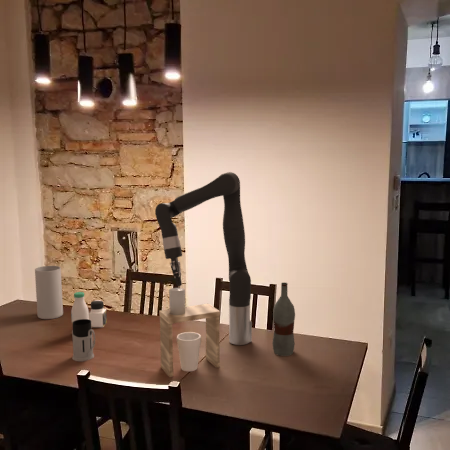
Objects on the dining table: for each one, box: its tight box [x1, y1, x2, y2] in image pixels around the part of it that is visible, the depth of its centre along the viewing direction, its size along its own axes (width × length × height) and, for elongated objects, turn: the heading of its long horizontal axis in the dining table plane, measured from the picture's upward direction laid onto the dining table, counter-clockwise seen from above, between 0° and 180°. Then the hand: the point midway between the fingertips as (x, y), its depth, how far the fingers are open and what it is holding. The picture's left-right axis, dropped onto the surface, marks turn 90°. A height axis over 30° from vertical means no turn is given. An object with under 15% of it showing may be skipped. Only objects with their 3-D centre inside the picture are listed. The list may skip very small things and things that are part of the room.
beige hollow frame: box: [158, 303, 221, 378], centre depth 199 cm, size 21×11×23 cm, turn 116°
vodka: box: [272, 282, 296, 357], centre depth 213 cm, size 9×9×30 cm
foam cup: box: [176, 331, 202, 372], centre depth 199 cm, size 10×9×13 cm
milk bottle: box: [70, 291, 89, 333], centre depth 235 cm, size 8×8×20 cm
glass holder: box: [71, 319, 96, 362], centre depth 208 cm, size 9×14×15 cm, turn 44°
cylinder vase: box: [34, 265, 64, 320], centre depth 262 cm, size 12×12×25 cm
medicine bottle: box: [88, 299, 108, 328], centre depth 249 cm, size 7×7×12 cm
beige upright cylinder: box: [168, 287, 186, 315], centre depth 195 cm, size 6×6×9 cm
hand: (179, 285), depth 225 cm, fingers closed
